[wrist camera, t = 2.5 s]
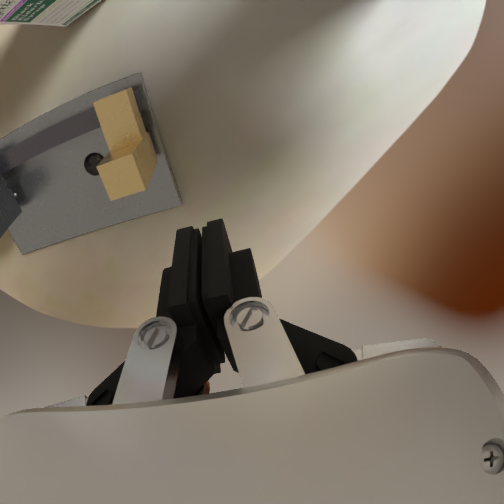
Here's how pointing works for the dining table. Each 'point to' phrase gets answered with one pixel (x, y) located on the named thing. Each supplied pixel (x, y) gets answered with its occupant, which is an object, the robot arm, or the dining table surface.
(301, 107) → the dining table surface
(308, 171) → the dining table surface
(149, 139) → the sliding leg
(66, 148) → the hole plate
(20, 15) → the syrup box
